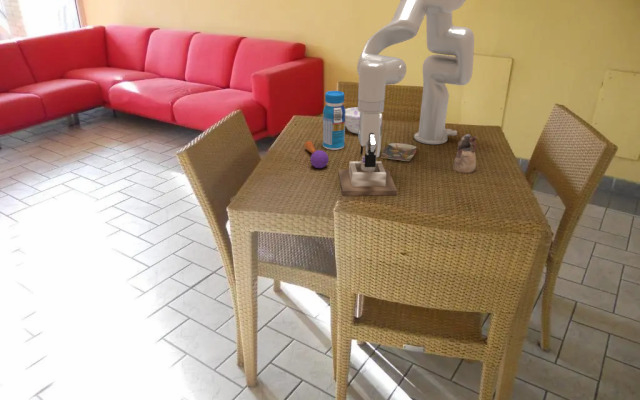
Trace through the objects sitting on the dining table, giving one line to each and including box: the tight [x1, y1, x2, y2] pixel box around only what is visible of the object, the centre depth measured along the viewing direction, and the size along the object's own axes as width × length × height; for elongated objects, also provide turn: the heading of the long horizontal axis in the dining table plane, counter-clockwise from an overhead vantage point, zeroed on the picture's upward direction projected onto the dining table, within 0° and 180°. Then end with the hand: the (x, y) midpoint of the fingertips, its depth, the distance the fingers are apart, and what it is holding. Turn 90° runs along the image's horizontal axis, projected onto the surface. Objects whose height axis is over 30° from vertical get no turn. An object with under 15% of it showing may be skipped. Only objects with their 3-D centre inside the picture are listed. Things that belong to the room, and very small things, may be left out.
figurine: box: [452, 133, 478, 174], centre depth 158 cm, size 7×7×12 cm
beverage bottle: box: [322, 90, 346, 151], centre depth 174 cm, size 8×8×20 cm
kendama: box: [304, 140, 329, 169], centre depth 167 cm, size 6×6×20 cm
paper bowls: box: [345, 106, 360, 135], centre depth 194 cm, size 15×15×8 cm
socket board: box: [338, 160, 398, 197], centre depth 149 cm, size 16×16×6 cm
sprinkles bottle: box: [361, 139, 379, 172], centre depth 146 cm, size 5×5×13 cm
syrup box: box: [376, 112, 383, 158], centre depth 169 cm, size 6×6×14 cm
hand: (367, 160), depth 146 cm, fingers open, 9 cm apart
